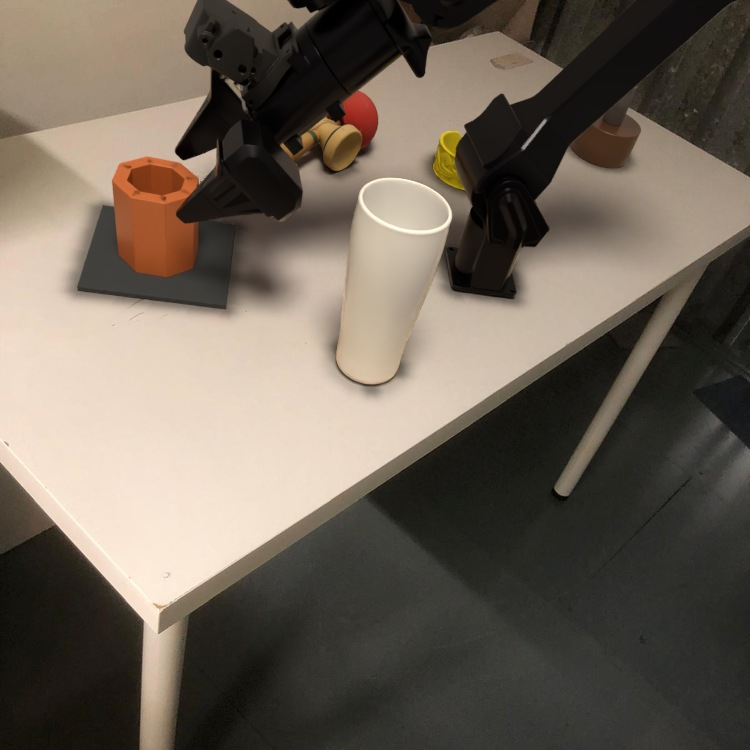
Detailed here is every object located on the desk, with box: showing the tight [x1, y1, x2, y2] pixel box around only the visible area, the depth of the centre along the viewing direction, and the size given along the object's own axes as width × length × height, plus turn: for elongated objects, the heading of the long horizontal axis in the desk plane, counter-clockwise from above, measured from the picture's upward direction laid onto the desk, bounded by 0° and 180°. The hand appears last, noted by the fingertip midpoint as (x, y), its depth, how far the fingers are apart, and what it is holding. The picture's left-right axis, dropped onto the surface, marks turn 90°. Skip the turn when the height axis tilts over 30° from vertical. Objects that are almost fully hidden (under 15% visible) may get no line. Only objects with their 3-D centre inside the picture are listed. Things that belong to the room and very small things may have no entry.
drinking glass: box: [335, 177, 453, 385], centre depth 57 cm, size 7×7×15 cm
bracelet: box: [432, 130, 465, 191], centre depth 84 cm, size 7×8×3 cm
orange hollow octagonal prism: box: [111, 156, 200, 277], centre depth 63 cm, size 6×6×7 cm
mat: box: [76, 204, 236, 310], centre depth 66 cm, size 12×12×1 cm
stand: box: [570, 84, 642, 169], centre depth 92 cm, size 8×8×8 cm
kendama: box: [280, 90, 379, 172], centre depth 79 cm, size 8×6×18 cm
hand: (179, 185), depth 61 cm, fingers open, 9 cm apart
